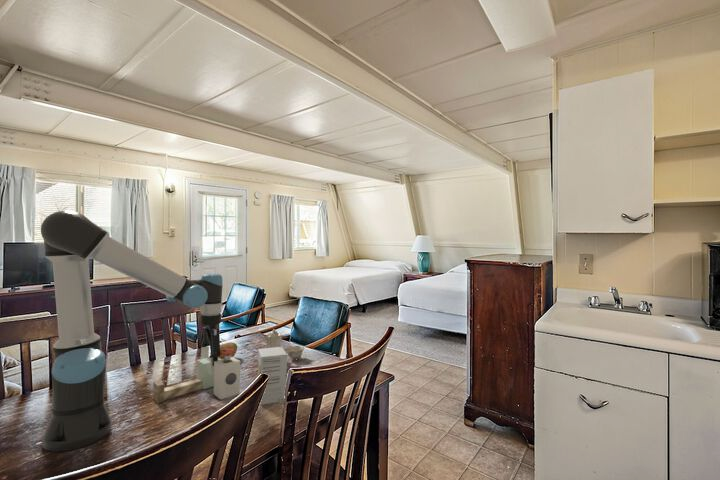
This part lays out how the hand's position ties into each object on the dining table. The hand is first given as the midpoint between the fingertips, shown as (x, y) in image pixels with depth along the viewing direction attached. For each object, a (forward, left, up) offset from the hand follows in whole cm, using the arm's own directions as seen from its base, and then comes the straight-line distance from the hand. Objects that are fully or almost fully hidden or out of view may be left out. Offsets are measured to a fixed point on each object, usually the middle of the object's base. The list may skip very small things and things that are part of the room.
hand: (208, 368), depth 133 cm
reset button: (+1, -12, +5) cm, 13 cm away
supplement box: (+11, -26, -7) cm, 29 cm away
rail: (-6, 0, -6) cm, 9 cm away
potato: (+16, +21, -7) cm, 27 cm away
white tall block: (+1, -12, -6) cm, 14 cm away
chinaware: (+32, -1, -7) cm, 32 cm away
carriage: (0, 0, -6) cm, 6 cm away
